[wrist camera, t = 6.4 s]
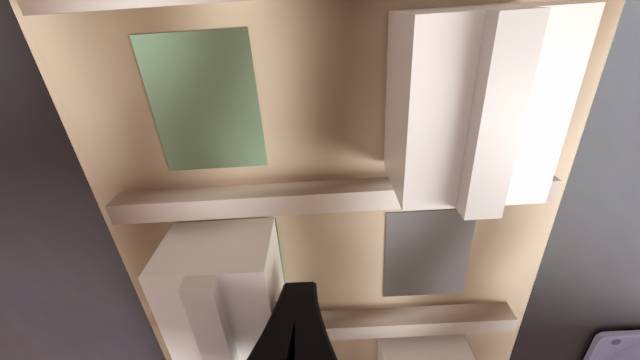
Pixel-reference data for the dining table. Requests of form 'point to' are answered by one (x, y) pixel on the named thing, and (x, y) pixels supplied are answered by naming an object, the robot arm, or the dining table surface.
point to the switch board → (288, 155)
